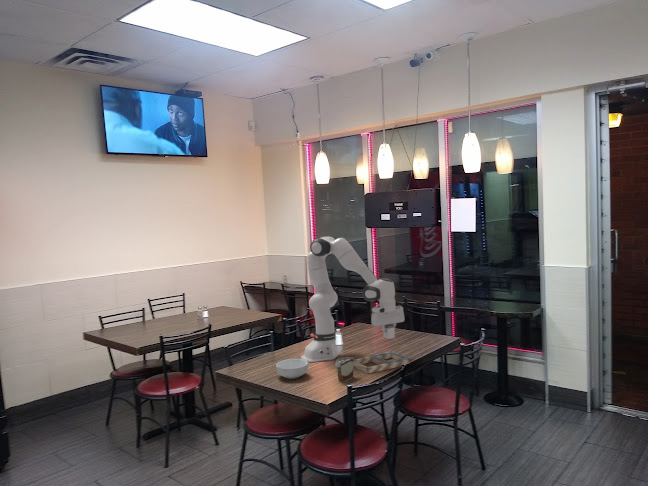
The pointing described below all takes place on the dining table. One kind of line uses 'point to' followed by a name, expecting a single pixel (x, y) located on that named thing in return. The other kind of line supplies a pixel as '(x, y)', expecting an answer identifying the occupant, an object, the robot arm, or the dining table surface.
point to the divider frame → (381, 362)
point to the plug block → (389, 331)
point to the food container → (345, 368)
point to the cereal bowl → (292, 368)
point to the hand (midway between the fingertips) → (388, 332)
